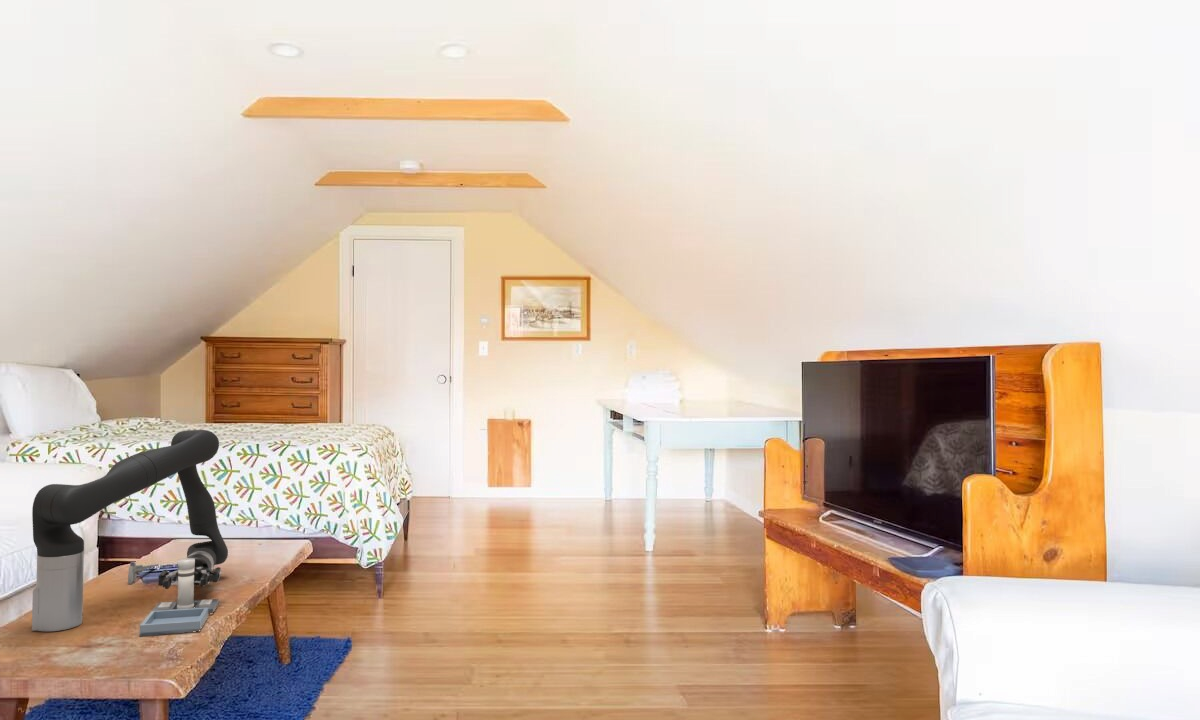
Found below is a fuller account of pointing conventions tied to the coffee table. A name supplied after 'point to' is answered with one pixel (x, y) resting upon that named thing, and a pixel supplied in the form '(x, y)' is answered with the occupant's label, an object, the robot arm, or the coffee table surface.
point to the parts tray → (173, 621)
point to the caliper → (136, 571)
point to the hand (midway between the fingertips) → (184, 583)
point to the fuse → (186, 583)
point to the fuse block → (207, 603)
